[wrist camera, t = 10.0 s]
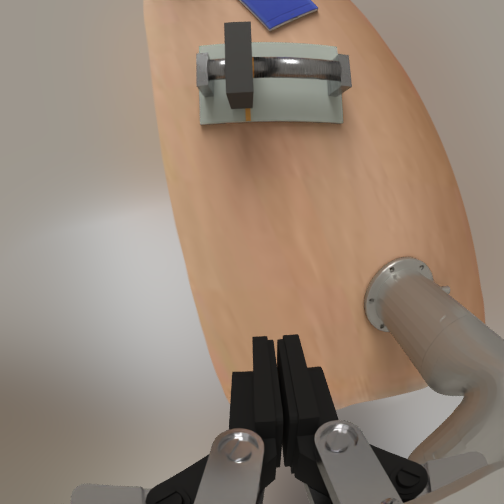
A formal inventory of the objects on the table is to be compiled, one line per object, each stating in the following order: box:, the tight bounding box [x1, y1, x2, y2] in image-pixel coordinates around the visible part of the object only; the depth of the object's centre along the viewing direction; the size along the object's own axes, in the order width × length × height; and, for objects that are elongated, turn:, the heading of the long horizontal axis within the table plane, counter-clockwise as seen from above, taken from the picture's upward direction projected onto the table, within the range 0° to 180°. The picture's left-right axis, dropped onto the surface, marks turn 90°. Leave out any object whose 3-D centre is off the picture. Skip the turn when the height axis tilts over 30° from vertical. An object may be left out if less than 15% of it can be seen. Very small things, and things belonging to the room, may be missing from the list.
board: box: [199, 42, 343, 125], centre depth 30 cm, size 18×11×1 cm, turn 92°
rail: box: [197, 52, 352, 97], centre depth 27 cm, size 16×4×6 cm, turn 92°
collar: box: [224, 22, 254, 109], centre depth 25 cm, size 2×8×8 cm, turn 2°
